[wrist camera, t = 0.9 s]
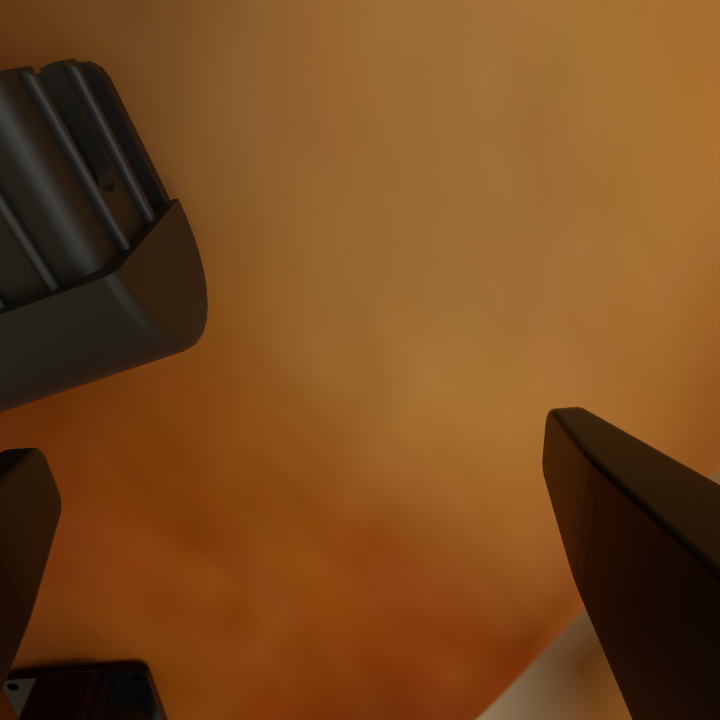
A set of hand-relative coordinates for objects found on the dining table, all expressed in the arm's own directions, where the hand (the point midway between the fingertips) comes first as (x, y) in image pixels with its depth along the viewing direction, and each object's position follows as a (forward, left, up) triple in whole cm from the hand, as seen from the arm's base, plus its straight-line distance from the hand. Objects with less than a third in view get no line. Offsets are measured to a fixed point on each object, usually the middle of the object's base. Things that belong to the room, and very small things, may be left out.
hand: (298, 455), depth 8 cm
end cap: (0, +9, -12) cm, 15 cm away
